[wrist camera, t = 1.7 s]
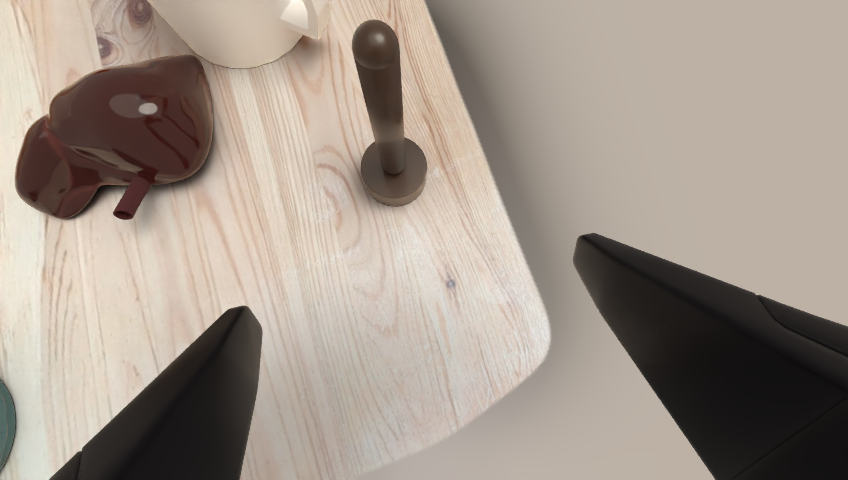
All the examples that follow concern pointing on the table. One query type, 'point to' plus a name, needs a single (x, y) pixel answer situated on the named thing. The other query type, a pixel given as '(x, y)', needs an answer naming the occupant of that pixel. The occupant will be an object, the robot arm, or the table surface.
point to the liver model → (117, 136)
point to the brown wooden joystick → (386, 118)
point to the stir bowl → (6, 423)
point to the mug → (244, 27)
